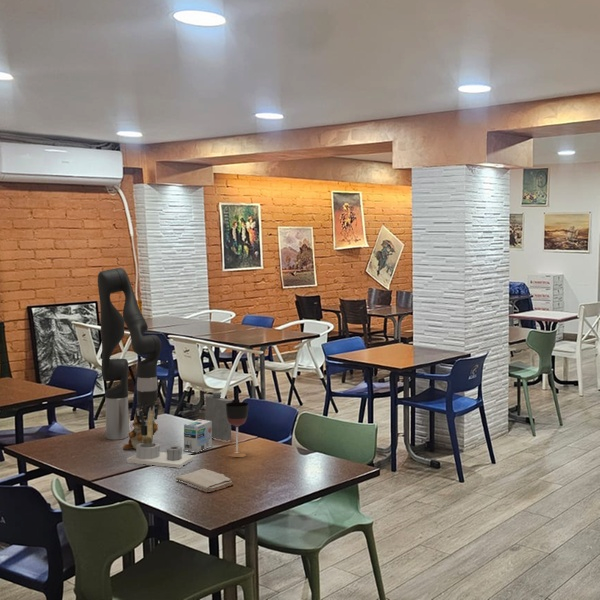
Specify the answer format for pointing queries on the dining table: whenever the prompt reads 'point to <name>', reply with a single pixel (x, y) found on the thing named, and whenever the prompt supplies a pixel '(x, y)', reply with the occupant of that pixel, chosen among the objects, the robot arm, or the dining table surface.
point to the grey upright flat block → (218, 416)
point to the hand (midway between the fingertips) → (147, 433)
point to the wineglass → (237, 415)
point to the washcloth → (205, 479)
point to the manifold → (159, 455)
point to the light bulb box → (197, 435)
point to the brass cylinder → (149, 430)
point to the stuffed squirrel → (136, 435)
